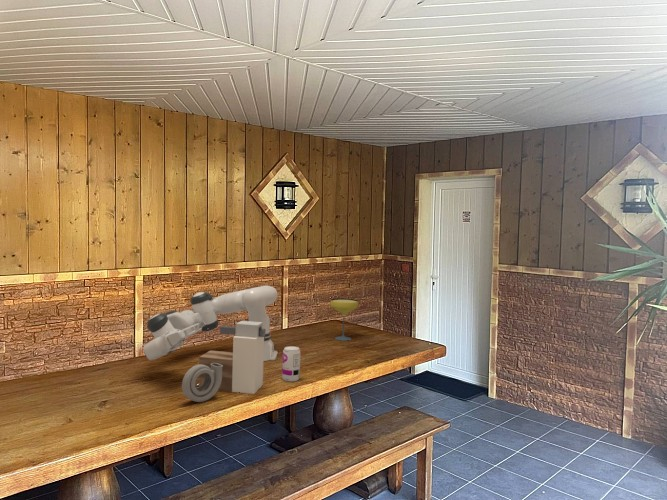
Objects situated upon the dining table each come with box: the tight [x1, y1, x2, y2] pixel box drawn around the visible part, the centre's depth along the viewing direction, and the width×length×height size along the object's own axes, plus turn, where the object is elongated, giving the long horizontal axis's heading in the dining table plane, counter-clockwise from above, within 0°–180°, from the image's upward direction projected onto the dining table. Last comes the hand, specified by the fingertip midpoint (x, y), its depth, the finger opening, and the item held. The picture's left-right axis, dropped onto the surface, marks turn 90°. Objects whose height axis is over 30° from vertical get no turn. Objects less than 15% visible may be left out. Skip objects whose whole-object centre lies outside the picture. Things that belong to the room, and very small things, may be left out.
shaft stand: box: [232, 320, 264, 395], centre depth 224 cm, size 12×10×29 cm
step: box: [198, 350, 233, 393], centre depth 227 cm, size 12×16×14 cm
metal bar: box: [219, 325, 266, 337], centre depth 224 cm, size 3×20×3 cm, turn 80°
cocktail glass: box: [329, 297, 359, 342], centre depth 326 cm, size 18×18×25 cm
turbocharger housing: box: [181, 363, 223, 403], centre depth 208 cm, size 17×6×15 cm, turn 137°
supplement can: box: [281, 345, 301, 383], centre depth 239 cm, size 8×8×15 cm
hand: (199, 325), depth 227 cm, fingers open, 8 cm apart
